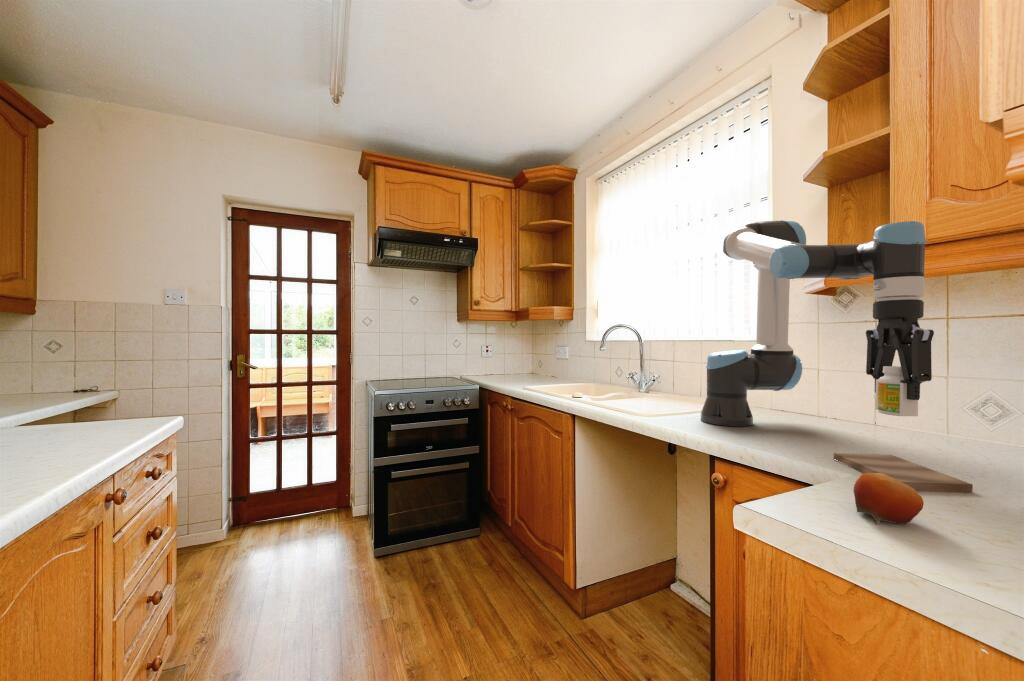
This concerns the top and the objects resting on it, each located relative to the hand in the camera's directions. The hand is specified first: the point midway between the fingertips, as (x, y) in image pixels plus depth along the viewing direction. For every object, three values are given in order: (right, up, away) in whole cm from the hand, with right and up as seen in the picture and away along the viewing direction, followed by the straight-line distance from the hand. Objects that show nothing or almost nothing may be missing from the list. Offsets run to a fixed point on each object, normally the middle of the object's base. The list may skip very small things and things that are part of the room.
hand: (895, 412), depth 83 cm
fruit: (-20, -13, -20) cm, 31 cm away
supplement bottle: (0, -1, 0) cm, 1 cm away
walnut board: (0, -13, 0) cm, 13 cm away
